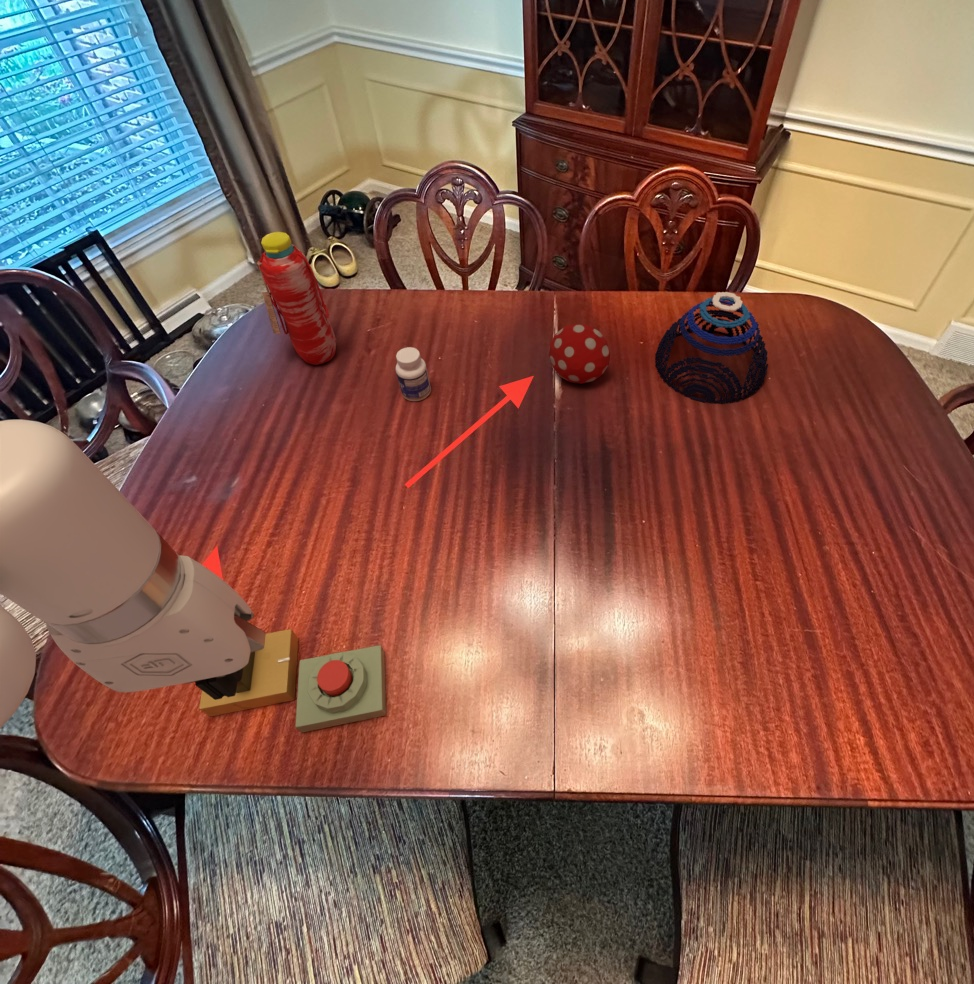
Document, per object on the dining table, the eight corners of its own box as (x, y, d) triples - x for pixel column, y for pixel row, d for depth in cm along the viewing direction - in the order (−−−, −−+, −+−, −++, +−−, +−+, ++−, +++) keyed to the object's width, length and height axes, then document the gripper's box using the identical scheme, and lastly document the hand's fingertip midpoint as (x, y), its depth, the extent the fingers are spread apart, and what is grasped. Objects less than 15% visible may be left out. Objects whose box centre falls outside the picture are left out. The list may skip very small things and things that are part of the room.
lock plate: (208, 717, 73) (197, 709, 70) (218, 653, 78) (208, 643, 75) (295, 700, 74) (286, 691, 71) (299, 637, 79) (291, 628, 76)
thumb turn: (250, 690, 72) (232, 675, 68) (236, 693, 71) (218, 677, 67) (256, 642, 75) (240, 625, 71) (243, 644, 75) (226, 627, 71)
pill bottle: (400, 384, 110) (390, 346, 103) (429, 379, 110) (421, 341, 104) (403, 404, 106) (393, 367, 99) (432, 399, 107) (425, 362, 100)
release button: (320, 698, 70) (316, 693, 69) (321, 668, 73) (317, 663, 71) (351, 692, 71) (348, 687, 69) (352, 662, 73) (348, 657, 72)
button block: (301, 732, 71) (289, 722, 68) (304, 666, 76) (294, 654, 73) (386, 715, 72) (379, 705, 69) (384, 651, 78) (377, 638, 74)
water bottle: (274, 368, 113) (218, 249, 94) (288, 340, 118) (238, 222, 99) (337, 371, 112) (293, 251, 93) (349, 343, 117) (309, 224, 98)
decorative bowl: (641, 385, 109) (652, 321, 98) (670, 320, 120) (682, 257, 109) (754, 416, 103) (778, 352, 92) (772, 345, 115) (795, 281, 104)
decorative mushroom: (549, 322, 116) (531, 348, 103) (600, 296, 112) (588, 320, 99) (576, 371, 120) (562, 402, 107) (626, 348, 115) (618, 377, 102)
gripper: (-40, 661, 35) (127, 744, 49) (225, 614, 37) (313, 707, 51) (7, 551, 40) (147, 655, 54) (240, 514, 42) (317, 624, 56)
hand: (228, 680), depth 53 cm, fingers closed
